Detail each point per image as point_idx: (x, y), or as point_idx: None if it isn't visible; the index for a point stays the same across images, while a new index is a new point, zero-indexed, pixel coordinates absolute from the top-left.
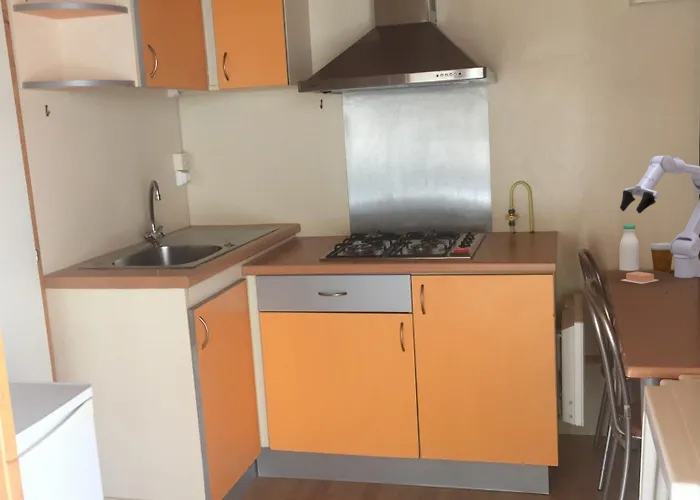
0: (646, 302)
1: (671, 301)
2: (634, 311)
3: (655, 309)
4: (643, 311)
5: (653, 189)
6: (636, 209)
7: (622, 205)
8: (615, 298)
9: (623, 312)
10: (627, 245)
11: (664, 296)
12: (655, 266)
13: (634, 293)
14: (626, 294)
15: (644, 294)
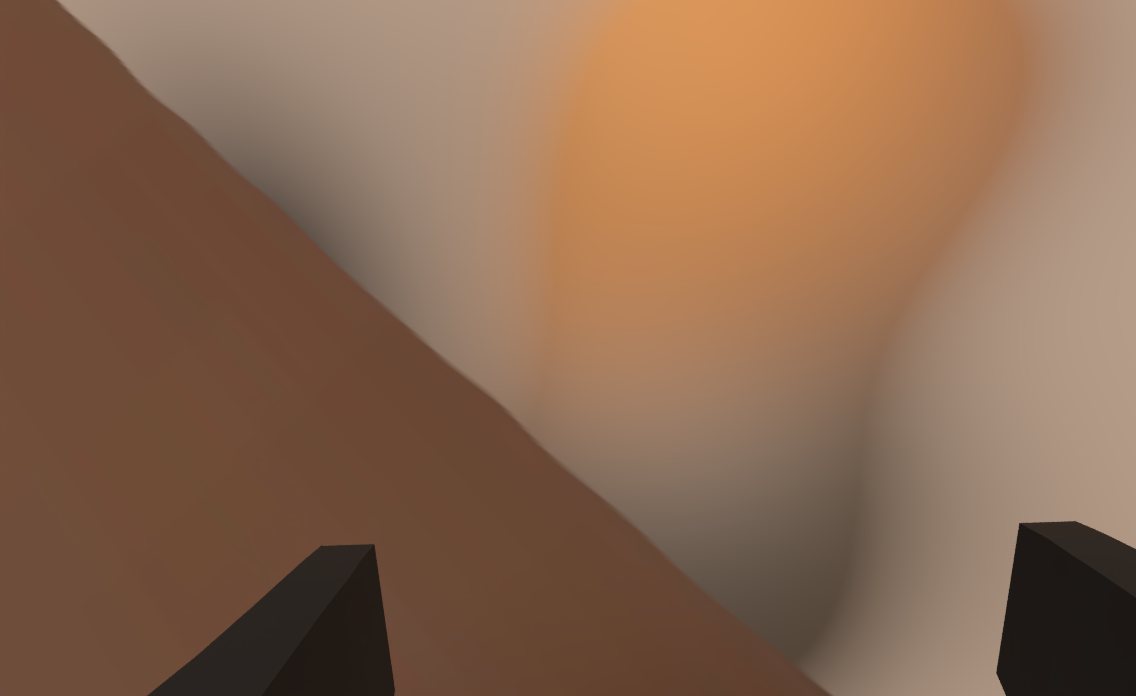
0: (174, 405)
1: (49, 562)
2: (85, 171)
3: (10, 293)
4: (42, 206)
5: None
6: (361, 550)
7: (1070, 575)
8: (416, 348)
9: (122, 114)
10: None
11: None
12: None
13: (439, 583)
14: (456, 507)
15: None
